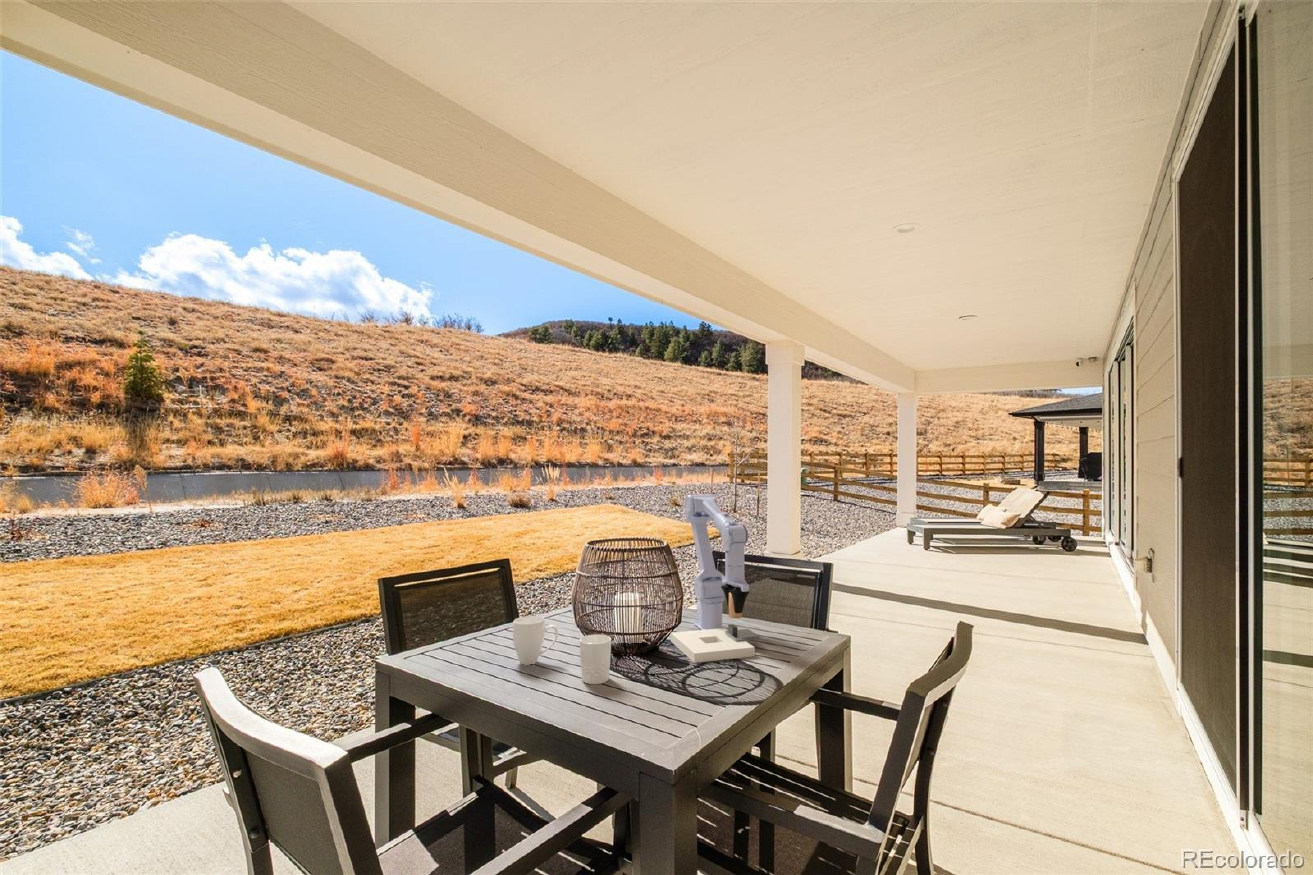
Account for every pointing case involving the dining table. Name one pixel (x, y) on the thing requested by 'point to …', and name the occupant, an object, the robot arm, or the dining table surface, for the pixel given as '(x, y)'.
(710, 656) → the socket plate
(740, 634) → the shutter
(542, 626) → the mug
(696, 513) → the robot arm
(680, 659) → the dining table surface
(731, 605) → the plug peg
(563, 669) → the dining table surface
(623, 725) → the dining table surface
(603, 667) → the white cup
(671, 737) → the dining table surface
